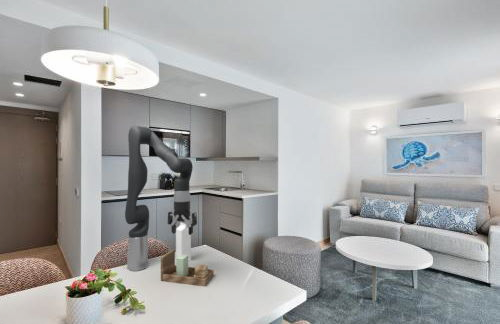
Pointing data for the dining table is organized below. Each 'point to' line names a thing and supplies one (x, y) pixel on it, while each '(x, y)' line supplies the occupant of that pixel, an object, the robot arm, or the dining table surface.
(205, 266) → the offcut
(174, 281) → the rack
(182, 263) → the pale green block
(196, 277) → the offcut
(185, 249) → the milk
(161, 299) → the dining table surface
